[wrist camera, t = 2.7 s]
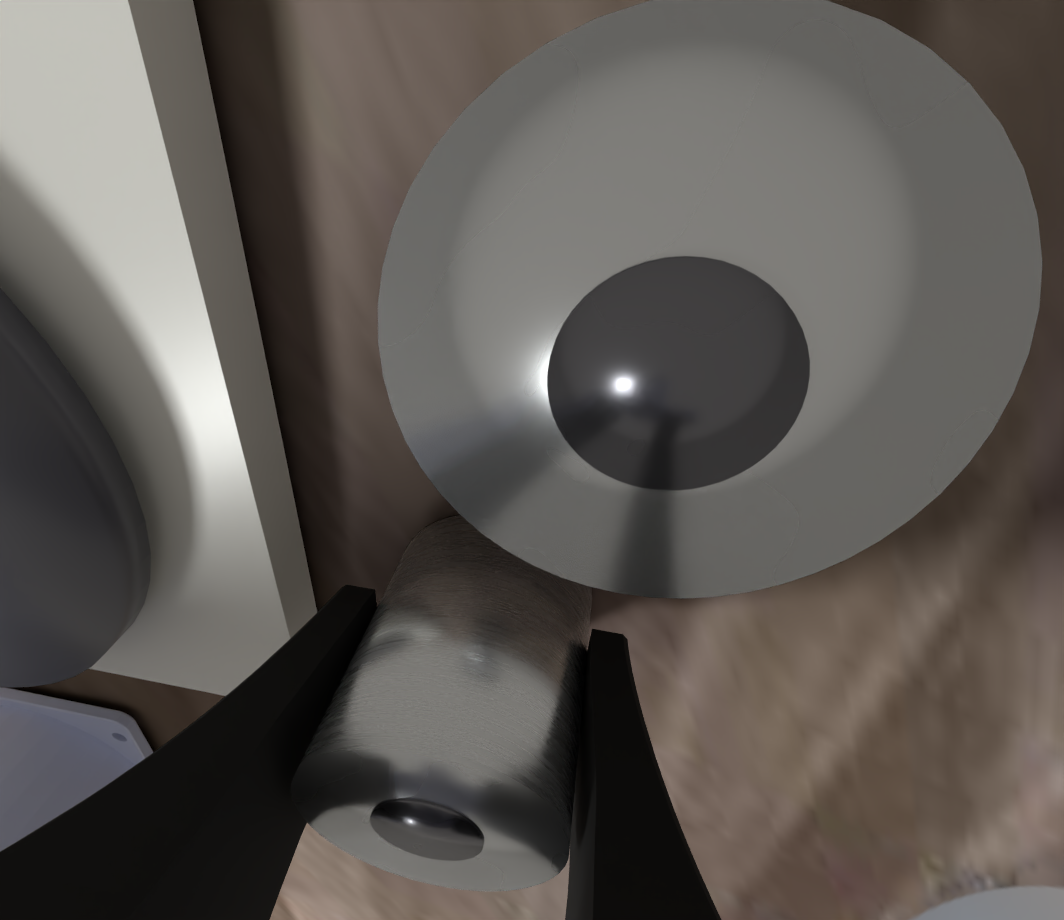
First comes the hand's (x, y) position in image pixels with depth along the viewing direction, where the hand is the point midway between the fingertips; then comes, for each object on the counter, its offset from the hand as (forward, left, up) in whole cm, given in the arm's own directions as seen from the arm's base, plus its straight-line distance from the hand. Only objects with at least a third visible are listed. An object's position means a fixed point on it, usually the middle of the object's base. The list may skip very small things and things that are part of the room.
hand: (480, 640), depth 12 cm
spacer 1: (0, 0, -1) cm, 1 cm away
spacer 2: (+8, -2, -2) cm, 8 cm away
